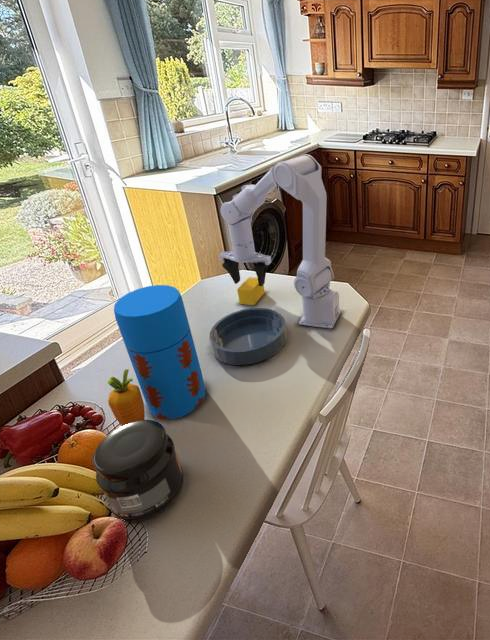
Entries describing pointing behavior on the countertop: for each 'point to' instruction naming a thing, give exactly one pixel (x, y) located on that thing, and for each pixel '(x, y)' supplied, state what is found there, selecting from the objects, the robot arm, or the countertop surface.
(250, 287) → the sponge
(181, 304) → the thermos
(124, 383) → the carrot
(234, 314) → the bowl
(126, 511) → the supplement container
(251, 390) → the countertop surface
